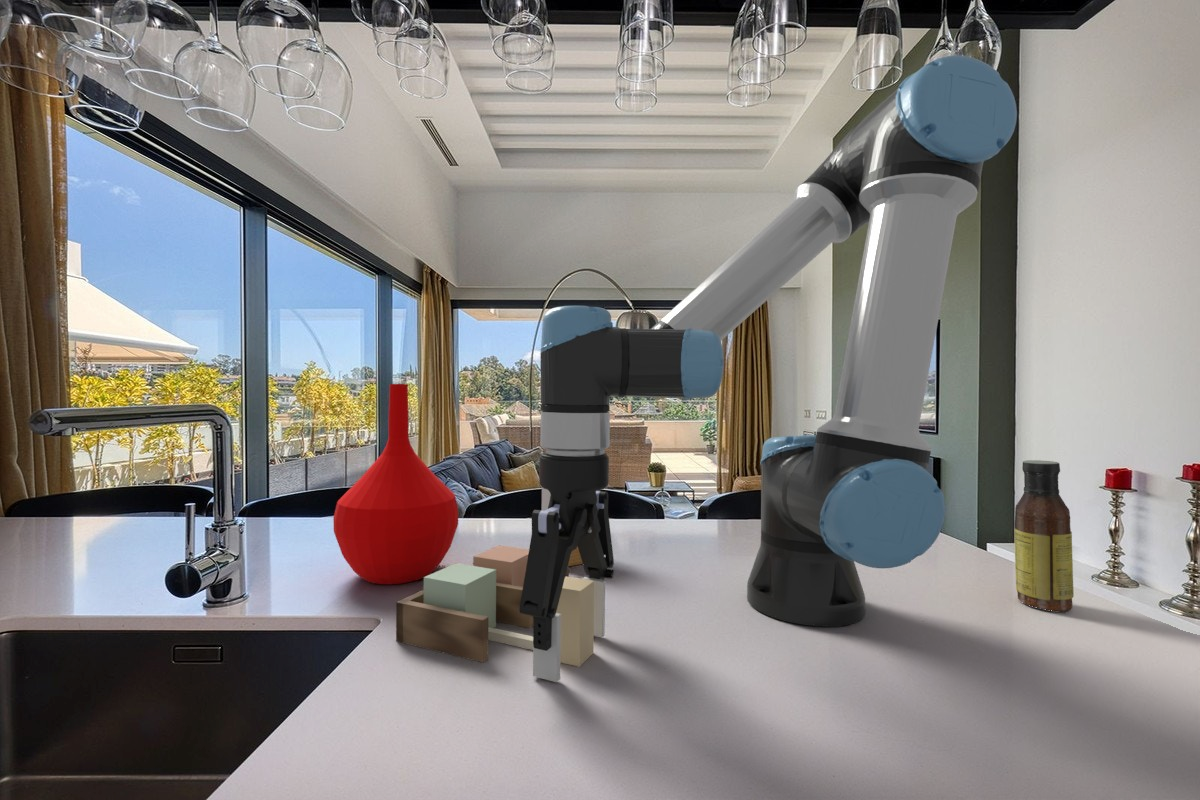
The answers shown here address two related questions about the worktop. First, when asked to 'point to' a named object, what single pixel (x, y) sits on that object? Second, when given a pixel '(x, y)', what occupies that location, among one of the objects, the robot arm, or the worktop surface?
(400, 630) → the lane rack
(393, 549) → the vase
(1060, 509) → the sauce bottle
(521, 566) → the terracotta block
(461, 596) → the tethered block
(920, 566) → the worktop surface
